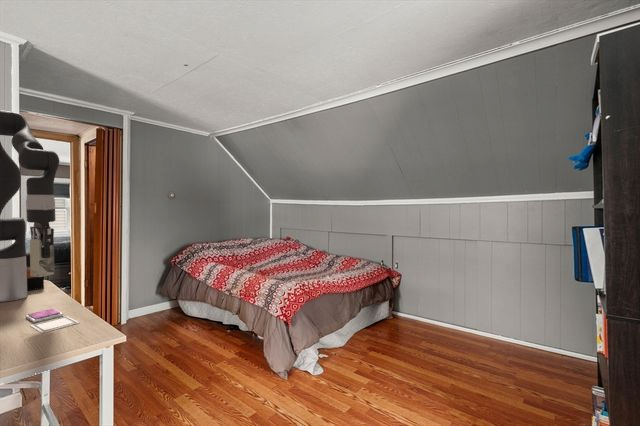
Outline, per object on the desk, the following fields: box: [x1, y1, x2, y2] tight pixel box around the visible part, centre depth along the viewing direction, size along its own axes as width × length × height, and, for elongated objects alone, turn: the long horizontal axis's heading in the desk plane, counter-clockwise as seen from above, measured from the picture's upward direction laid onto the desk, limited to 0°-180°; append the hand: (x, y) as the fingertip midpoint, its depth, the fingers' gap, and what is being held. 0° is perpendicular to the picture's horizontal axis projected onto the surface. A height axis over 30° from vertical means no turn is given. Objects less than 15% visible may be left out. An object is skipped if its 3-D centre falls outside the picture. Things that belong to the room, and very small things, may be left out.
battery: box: [27, 267, 45, 292], centre depth 147 cm, size 4×7×10 cm, turn 143°
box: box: [29, 237, 56, 277], centre depth 112 cm, size 5×4×13 cm
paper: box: [30, 315, 80, 334], centre depth 107 cm, size 10×10×1 cm
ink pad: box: [25, 308, 64, 324], centre depth 114 cm, size 8×8×1 cm
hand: (42, 256), depth 112 cm, fingers closed on box, 5 cm apart
